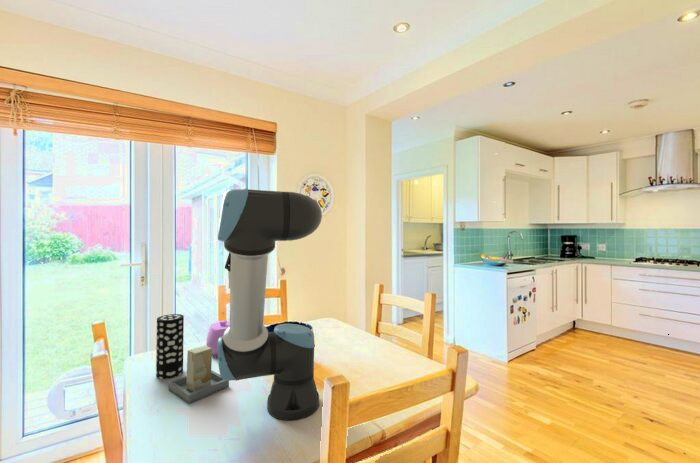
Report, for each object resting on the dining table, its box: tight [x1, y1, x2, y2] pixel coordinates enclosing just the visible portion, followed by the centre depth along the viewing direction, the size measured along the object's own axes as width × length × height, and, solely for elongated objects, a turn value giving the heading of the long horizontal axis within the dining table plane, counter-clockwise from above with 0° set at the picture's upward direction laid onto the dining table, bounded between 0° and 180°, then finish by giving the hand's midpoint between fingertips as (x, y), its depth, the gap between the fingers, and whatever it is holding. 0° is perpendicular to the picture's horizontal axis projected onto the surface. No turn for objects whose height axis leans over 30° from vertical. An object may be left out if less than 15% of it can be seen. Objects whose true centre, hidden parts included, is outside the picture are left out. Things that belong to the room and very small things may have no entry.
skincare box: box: [186, 345, 213, 392], centre depth 103 cm, size 6×4×12 cm
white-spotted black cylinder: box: [155, 313, 185, 380], centre depth 113 cm, size 8×8×20 cm
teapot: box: [205, 319, 230, 357], centre depth 134 cm, size 20×12×13 cm, turn 33°
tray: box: [168, 369, 230, 404], centre depth 103 cm, size 13×13×2 cm
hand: (242, 290), depth 119 cm, fingers open, 13 cm apart
